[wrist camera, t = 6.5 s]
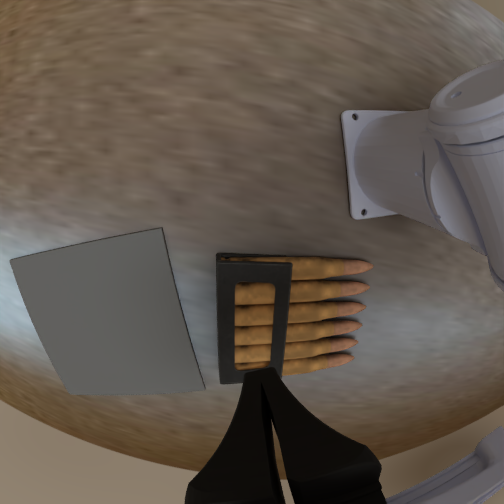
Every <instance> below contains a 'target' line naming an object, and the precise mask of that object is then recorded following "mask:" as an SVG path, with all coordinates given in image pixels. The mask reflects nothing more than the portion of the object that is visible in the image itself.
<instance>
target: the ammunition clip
mask: <svg viewBox="0 0 504 504" xmlns="http://www.w3.org/2000/svg"><path fill="white" fill-rule="evenodd" d="M372 268H373V265H372V264H370V263H368V262H364V261H360V260H352V259H331V258H325V257H287V256H281V255H253V254H225V253H217V254H216V279H217V326H218V356H219V377H220V384H236V383H243V379H244V374H245V373H247V372H251V371H256V370H261V369H265V368H269V367H274V368H275V369H276V372H277V373H278V375H279V377H280V379H282V376H283V375H293V374H302V373H309V372H313V371H316V370H320V369H326V368H330V367H335V366H339V365H343V364H345V363H348V362H350V361H351V360H353V359H354V356H351V355H346V354H329V355H320V354H325V353H329V352H336V351H340V350H344V349H347V348H350V347H352V346H354V345H356V344H357V343H358V341H357V340H355V339H349V338H330V339H328V338H325V339H319V338H322V337H328V336H332V335H339V334H344V333H348V332H352V331H354V330H357V329H358V328H360V327H361V326H362V324H361V323H359V322H354V321H320V320H324V319H327V318H334V317H340V316H347V315H351V314H355V313H358V312H360V311H362V310H364V309H365V308H366V306H365V305H363V304H360V303H355V302H322V301H321V300H325V299H328V298H336V297H342V296H350V295H355V294H359V293H362V292H364V291H366V290H368V289H369V288H370V286H369V285H366V284H364V283H360V282H353V281H326V280H319V279H324V278H328V277H333V276H341V275H352V274H358V273H362V272H365V271H368V270H370V269H372ZM311 279H316V280H311Z"/></svg>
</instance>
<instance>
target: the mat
mask: <svg viewBox="0 0 504 504" xmlns="http://www.w3.org/2000/svg"><path fill="white" fill-rule="evenodd" d="M10 264H11V267H12V270H13V273H14V276H15V279H16V282H17V285H18V287H19V290H20V293H21V296H22V298H23V301H24V303H25V306H26V308H27V311H28V313H29V316H30V318H31V320H32V323H33V325H34V327H35V329H36V332H37V334H38V336H39V338H40V340H41V342H42V344H43V346H44V349H45V351H46V353H47V355H48V356H49V358H50V360H51V362H52V364H53V366H54V368H55V370H56V372H57V373H58V375H59V377H60V379H61V380H62V382H63V384H64V386H65V387H66V389H67V391H68V392H69V394H75V395H147V394H166V393H180V392H192V391H202V390H205V385H204V382H203V379H202V376H201V373H200V370H199V367H198V363H197V360H196V357H195V354H194V350H193V347H192V344H191V340H190V337H189V333H188V330H187V326H186V323H185V319H184V315H183V312H182V308H181V304H180V301H179V297H178V293H177V289H176V285H175V281H174V277H173V273H172V269H171V265H170V260H169V256H168V252H167V247H166V243H165V238H164V233H163V229H162V228H156V229H151V230H145V231H140V232H135V233H130V234H125V235H120V236H115V237H110V238H105V239H100V240H95V241H90V242H85V243H81V244H76V245H71V246H67V247H62V248H58V249H53V250H49V251H44V252H40V253H36V254H32V255H27V256H23V257H19V258H15V259H11V260H10Z"/></svg>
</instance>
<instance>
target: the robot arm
mask: <svg viewBox="0 0 504 504" xmlns="http://www.w3.org/2000/svg"><path fill="white" fill-rule="evenodd" d="M353 114H355V115H356V120H354V119H353V118H352V115H353ZM341 123H342V130H343V138H344V147H345V156H346V165H347V176H348V188H349V201H350V214H351V216H352V218H354V219H356V220H360V219H367V218H374V217H381V216H388V215H396V214H401V215H403V216H406V217H408V218H411V219H413V220H416V221H418V222H420V223H423V224H425V225H428V226H430V227H432V228H435V229H437V230H439V231H442V232H444V233H446V234H449V235H451V236H454V237H456V238H458V239H460V240H462V241H465V242H468V243H469V244H470V245H471V247H472V249H473V250H475V251H477V252H479V253H481V254H483V255H485V256H487V255H488V256H487V258H488V263H489V268H490V272H491V276H492V277H493V279H494V281H495V283H496V284H497V285H498V287H499V288H500V289H501V290H502V291H504V60H498V61H494V62H491V63H487V64H484V65H482V66H479V67H477V68H474V69H472V70H470V71H468V72H466V73H464V74H462V75H460V76H459V77H457V78H455V79H454V80H452V81H451V82H449V83H448V84H447V85H445V86H444V87H443V88H442V89H441V90H440V91H439V92H438V93H437V94H436V95H435V96H434V97H433V99H432V101H431V103H430V107H429V109H424V110H417V111H411V112H408V111H383V110H347V111H344V112H342V114H341ZM362 209H365V213H364V214H363V215H362V214H361V211H362ZM271 419H272V422H273V425H274V428H275V431H276V434H277V437H278V439H279V443H280V448H281V452H282V457H283V462H284V467H285V471H286V476H287V480H288V483H289V487H290V490H291V493H292V496H293V499H294V503H295V504H482V503H483V502H485V501H486V500H487V499H489V498H490V497H491V496H492V495H494V494H495V493H496V492H497V491H499V490H500V489H501V488H502V487H504V429H503V427H502V426H500V427H498V428H497V429H495V430H494V431H493V432H491V433H490V434H489V435H487V436H486V437H485V438H483V439H482V440H481V441H480V442H479V443H478V445H477V446H476V448H475V451H474V452H472V453H470V454H469V455H467V456H466V457H464V458H463V459H462V460H460V461H458V462H457V463H455V464H453V465H451V466H450V467H448V468H446V469H445V470H443V471H441V472H440V473H438V474H436V475H434V476H432V477H430V478H429V479H427V480H425V481H423V482H421V483H419V484H417V485H415V486H413V487H411V488H409V489H407V490H405V491H403V492H400V493H398V494H396V495H393V496H391V497H389V498H386V499H385V497H384V495H383V493H382V491H381V489H382V486H381V484H380V482H379V477H380V473H381V469H382V468H381V464H380V462H379V460H378V459H377V458H376V456H375V455H374V454H373V453H372V451H371V450H370V449H369V448H368V447H367V446H366V445H363V444H361V443H358V442H356V441H354V440H352V439H350V438H348V437H346V436H344V435H342V434H340V433H339V432H337V431H335V430H334V429H332V428H331V427H329V426H327V425H326V424H324V423H323V422H322V421H320V420H319V419H318V418H316V417H315V416H314V415H313V414H312V413H310V412H309V411H308V410H307V409H306V408H305V407H304V406H303V405H302V404H301V403H300V402H299V401H298V400H297V399H296V398H295V397H294V396H293V394H292V393H291V392H290V391H289V390H288V388H287V387H286V386H285V384H284V383H283V382H282V380H281V379H280V377H279V375H278V373H277V372H276V369H275V368H274V367H269V368H265V369H261V370H256V371H251V372H247V373H245V374H244V379H243V386H242V391H241V395H240V398H239V402H238V405H237V408H236V411H235V414H234V416H233V419H232V422H231V424H230V426H229V428H228V430H227V432H226V434H225V436H224V438H223V440H222V442H221V443H220V445H219V447H218V448H217V450H216V451H215V453H214V454H213V456H212V457H211V458H210V460H209V461H208V462H207V464H206V465H205V466H204V467H203V469H202V470H201V471H200V472H199V473H198V474H197V475H196V476H195V477H194V478H193V480H191V481H190V482H189V484H188V488H187V491H186V496H185V504H286V503H285V499H284V495H283V491H282V486H281V482H280V478H279V473H278V469H277V464H276V458H275V450H274V440H273V431H272V422H271Z"/></svg>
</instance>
